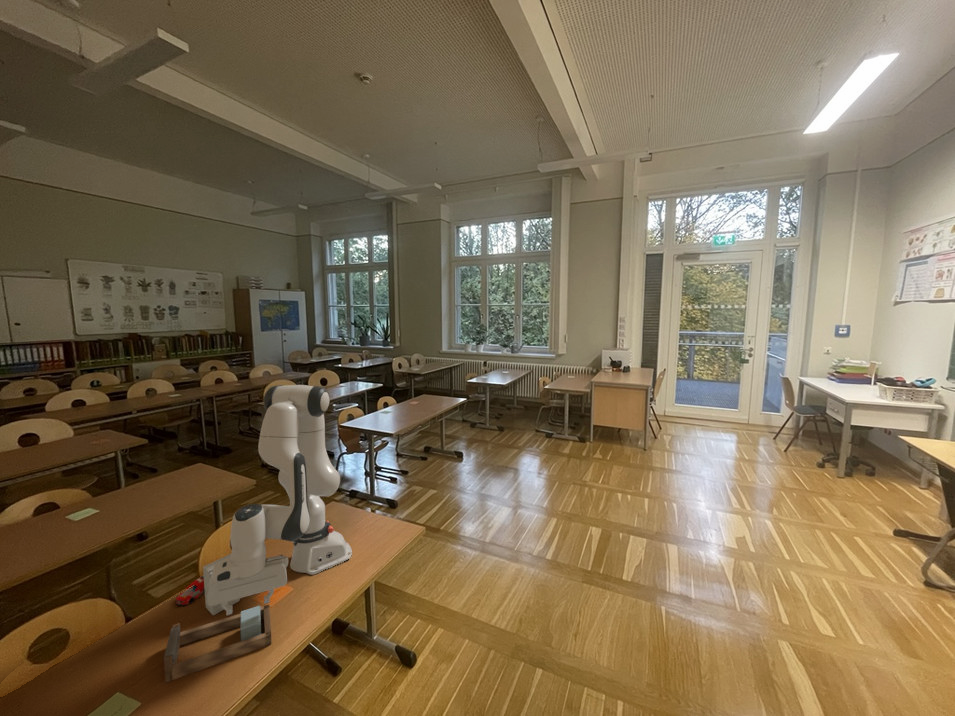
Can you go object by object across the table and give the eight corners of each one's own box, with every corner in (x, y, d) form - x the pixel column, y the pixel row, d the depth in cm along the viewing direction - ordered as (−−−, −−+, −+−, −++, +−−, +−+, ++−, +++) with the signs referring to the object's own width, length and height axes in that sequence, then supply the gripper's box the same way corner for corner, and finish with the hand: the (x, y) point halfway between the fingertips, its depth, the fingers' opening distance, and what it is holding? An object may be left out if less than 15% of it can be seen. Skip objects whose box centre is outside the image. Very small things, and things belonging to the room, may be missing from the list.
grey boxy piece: (260, 622, 117) (260, 604, 117) (261, 640, 111) (260, 621, 110) (241, 629, 115) (241, 610, 114) (241, 647, 108) (240, 628, 108)
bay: (269, 613, 121) (268, 595, 121) (271, 644, 110) (270, 624, 109) (173, 644, 109) (172, 625, 108) (164, 683, 97) (162, 661, 97)
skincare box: (232, 594, 129) (231, 552, 128) (240, 601, 126) (239, 559, 124) (203, 608, 122) (202, 565, 121) (211, 617, 119) (209, 572, 117)
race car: (185, 609, 122) (184, 597, 122) (171, 605, 124) (171, 594, 123) (221, 582, 135) (220, 571, 135) (208, 579, 136) (208, 568, 136)
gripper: (287, 548, 118) (287, 590, 119) (207, 566, 108) (207, 612, 109) (289, 558, 113) (288, 602, 114) (205, 579, 102) (205, 627, 103)
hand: (248, 608), depth 111 cm, fingers open, 8 cm apart
